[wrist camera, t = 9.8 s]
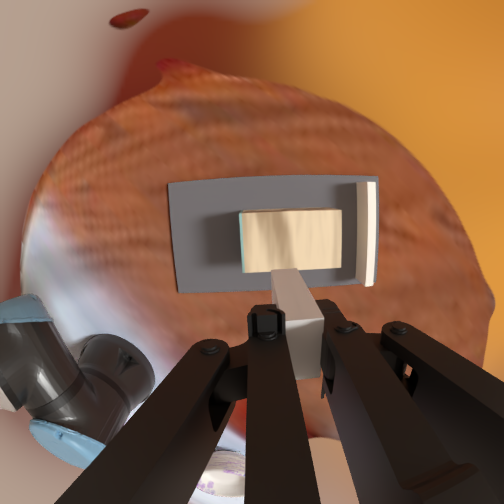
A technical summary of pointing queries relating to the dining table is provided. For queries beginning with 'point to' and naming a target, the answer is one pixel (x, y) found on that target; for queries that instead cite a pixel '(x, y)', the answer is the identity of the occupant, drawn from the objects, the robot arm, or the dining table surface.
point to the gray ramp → (228, 227)
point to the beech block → (290, 239)
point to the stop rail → (366, 232)
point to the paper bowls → (224, 475)
